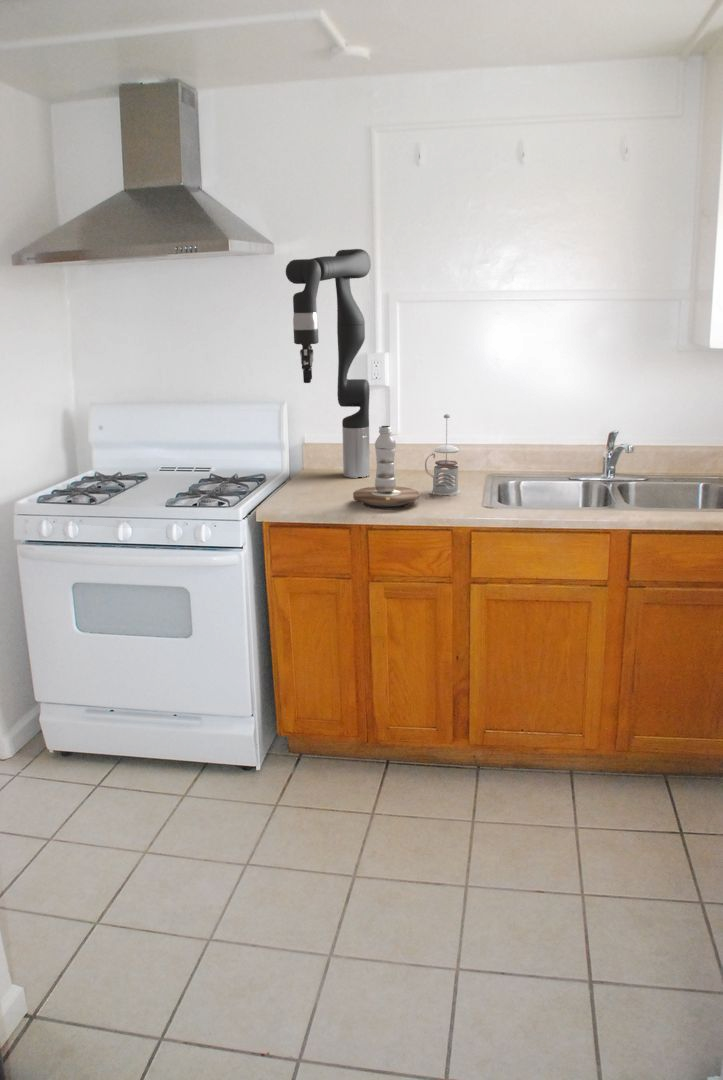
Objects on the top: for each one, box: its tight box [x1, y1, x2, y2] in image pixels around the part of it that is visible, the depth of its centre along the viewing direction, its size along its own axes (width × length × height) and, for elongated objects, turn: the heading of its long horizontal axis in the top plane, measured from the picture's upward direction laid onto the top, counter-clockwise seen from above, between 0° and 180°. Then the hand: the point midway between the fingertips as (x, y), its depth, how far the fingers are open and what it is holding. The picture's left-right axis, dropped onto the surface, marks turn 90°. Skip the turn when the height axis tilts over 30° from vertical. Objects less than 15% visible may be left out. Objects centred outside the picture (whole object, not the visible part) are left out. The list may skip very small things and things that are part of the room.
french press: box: [424, 413, 461, 496], centre depth 280 cm, size 10×12×25 cm
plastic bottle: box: [374, 425, 397, 493], centre depth 266 cm, size 6×7×20 cm
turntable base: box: [362, 503, 410, 510], centre depth 269 cm, size 14×14×2 cm
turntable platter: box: [352, 485, 420, 505], centre depth 269 cm, size 20×20×1 cm
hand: (307, 381), depth 276 cm, fingers open, 8 cm apart
